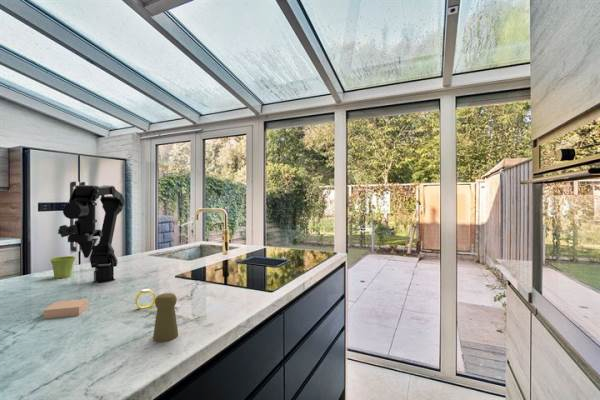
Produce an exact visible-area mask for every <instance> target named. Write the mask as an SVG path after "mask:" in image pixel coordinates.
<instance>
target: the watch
mask: <svg viewBox="0 0 600 400" xmlns="http://www.w3.org/2000/svg"><path fill="white" fill-rule="evenodd" d="M149 293H150V294H152V295H153V300H152V302H151V303H150V304H149V305H144V306H141V305H139V304H138V299H139V297H140V296H141V295H143V294H149ZM156 297H157V296H156V294H155V293H154V291H152V290H151V289H150V288H144V289H141V290H140V292H139V293H137V294H136V297H135V298H134V303H135V305H136V307H137V309H141V310H143V309H148V308H149V309H150V308H152V306H153V305H155V299H156Z"/></svg>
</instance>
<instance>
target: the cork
mask: <svg viewBox="0 0 600 400" xmlns="http://www.w3.org/2000/svg"><path fill="white" fill-rule="evenodd" d="M177 298H178V297H177V295H175V293H171V292H165V293H161V294H158V295H157V296H156V299H155V303H154V305H155V307H156V315H155V321H154V329H153V335H152V339H153V341H154V342H160V343H162V342H163V343H164V342H169V341H172V340H174V339H177V338H178V336H179V331H178V323H177V315H176V309H175V306H176V304H177V301H178V299H177Z"/></svg>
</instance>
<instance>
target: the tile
mask: <svg viewBox="0 0 600 400" xmlns="http://www.w3.org/2000/svg"><path fill="white" fill-rule="evenodd" d="M88 308H89V298H84V299H82V298H81V299H70V300H59V301H58V300H57V301H55V302H53V303H51V305H49V306H48V307H46V308H45V309H44V310H43V319H44V320H45V318H47V319H55V318H54V317H57V318H65V317H64V316H67V317H75V316H77V317H78V316H80V315H81V314H82V313H84V311H86V310H87V309H88Z"/></svg>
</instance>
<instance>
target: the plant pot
mask: <svg viewBox="0 0 600 400" xmlns="http://www.w3.org/2000/svg"><path fill="white" fill-rule="evenodd" d="M76 258H77V256H74V255H73V256H72V255H68V256H67V255H66V256H64V255H63V256H58V257H52V258H50V259H49V261H50V262H51V263H50V264H51V265H52V271H53V276H54V277H53V278H55V279H61V278H62V279H64V278H65V277H66V278H70V277H71V276H72V273H73V268H74V267H73V265H74V262H75V260H76ZM66 278H65V279H66Z"/></svg>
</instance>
